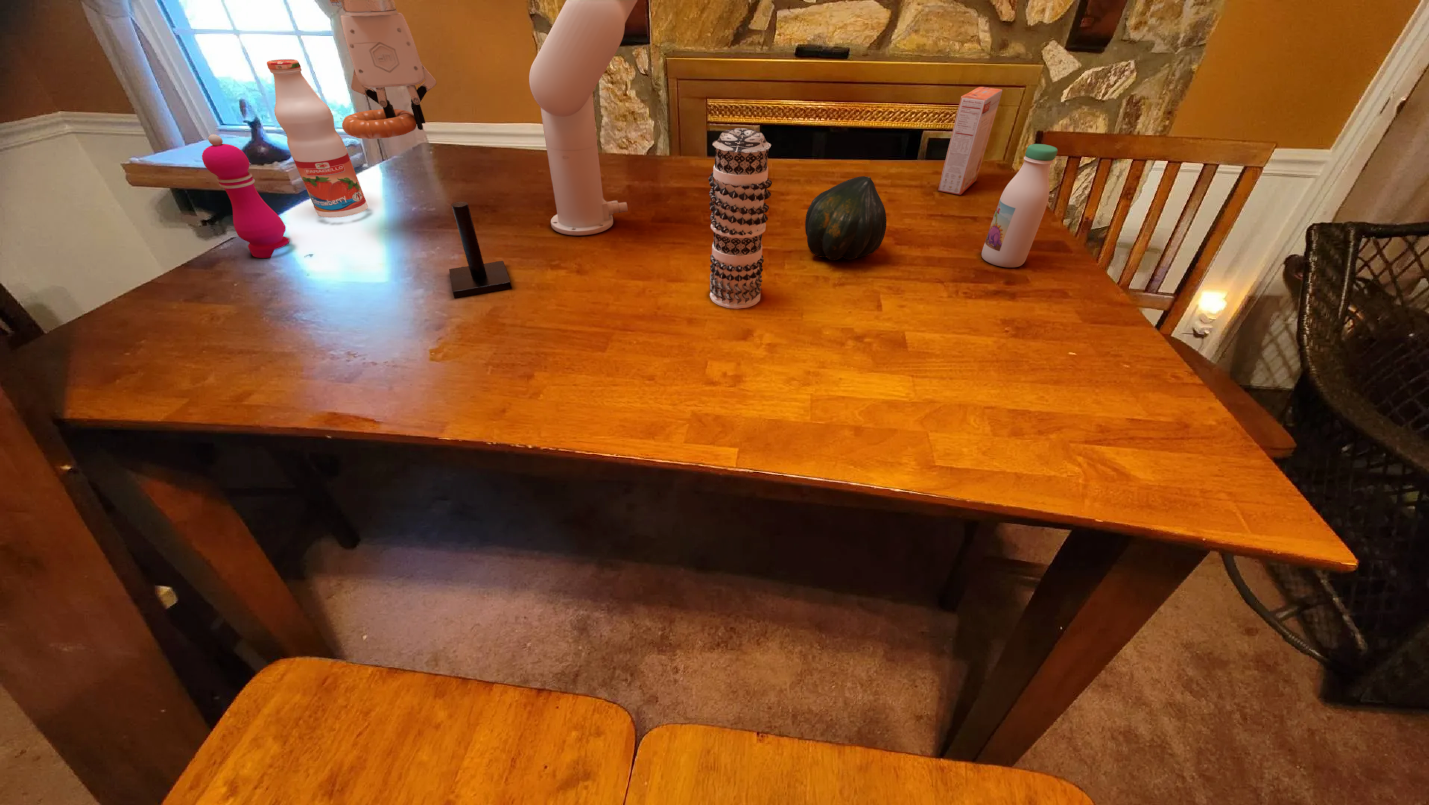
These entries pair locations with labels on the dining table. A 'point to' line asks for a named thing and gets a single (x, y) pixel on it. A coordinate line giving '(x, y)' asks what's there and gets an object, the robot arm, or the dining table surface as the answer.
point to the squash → (846, 220)
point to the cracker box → (969, 139)
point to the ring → (378, 124)
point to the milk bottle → (1020, 209)
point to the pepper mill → (244, 199)
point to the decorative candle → (738, 217)
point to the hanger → (474, 261)
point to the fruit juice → (315, 143)
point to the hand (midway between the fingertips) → (408, 128)
